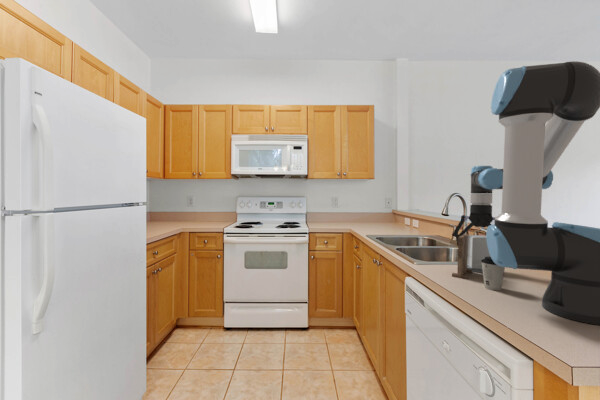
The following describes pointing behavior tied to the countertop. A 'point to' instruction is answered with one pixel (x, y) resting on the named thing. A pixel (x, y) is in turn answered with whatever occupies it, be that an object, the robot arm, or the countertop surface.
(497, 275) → the coffee cup
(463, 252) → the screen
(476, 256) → the supplement box
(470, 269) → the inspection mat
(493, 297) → the countertop surface
